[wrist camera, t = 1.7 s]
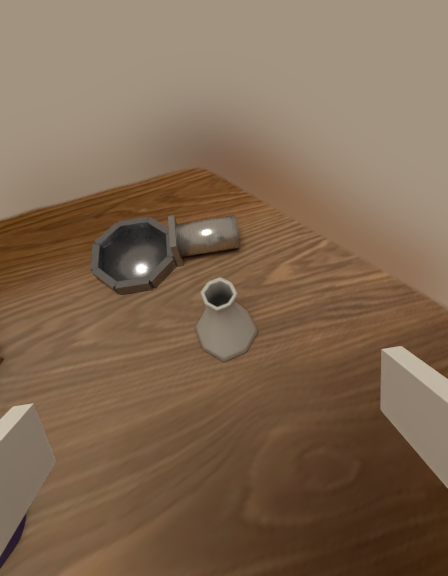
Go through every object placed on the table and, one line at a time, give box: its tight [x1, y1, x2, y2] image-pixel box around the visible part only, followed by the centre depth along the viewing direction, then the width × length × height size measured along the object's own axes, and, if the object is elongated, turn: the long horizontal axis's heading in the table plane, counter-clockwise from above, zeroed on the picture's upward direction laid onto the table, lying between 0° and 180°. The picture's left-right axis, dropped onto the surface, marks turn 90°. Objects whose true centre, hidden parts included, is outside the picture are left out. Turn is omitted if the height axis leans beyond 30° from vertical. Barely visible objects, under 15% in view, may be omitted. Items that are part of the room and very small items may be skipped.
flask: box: [195, 277, 258, 362], centre depth 30 cm, size 7×7×10 cm
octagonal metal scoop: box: [90, 215, 240, 295], centre depth 39 cm, size 20×11×4 cm, turn 98°
